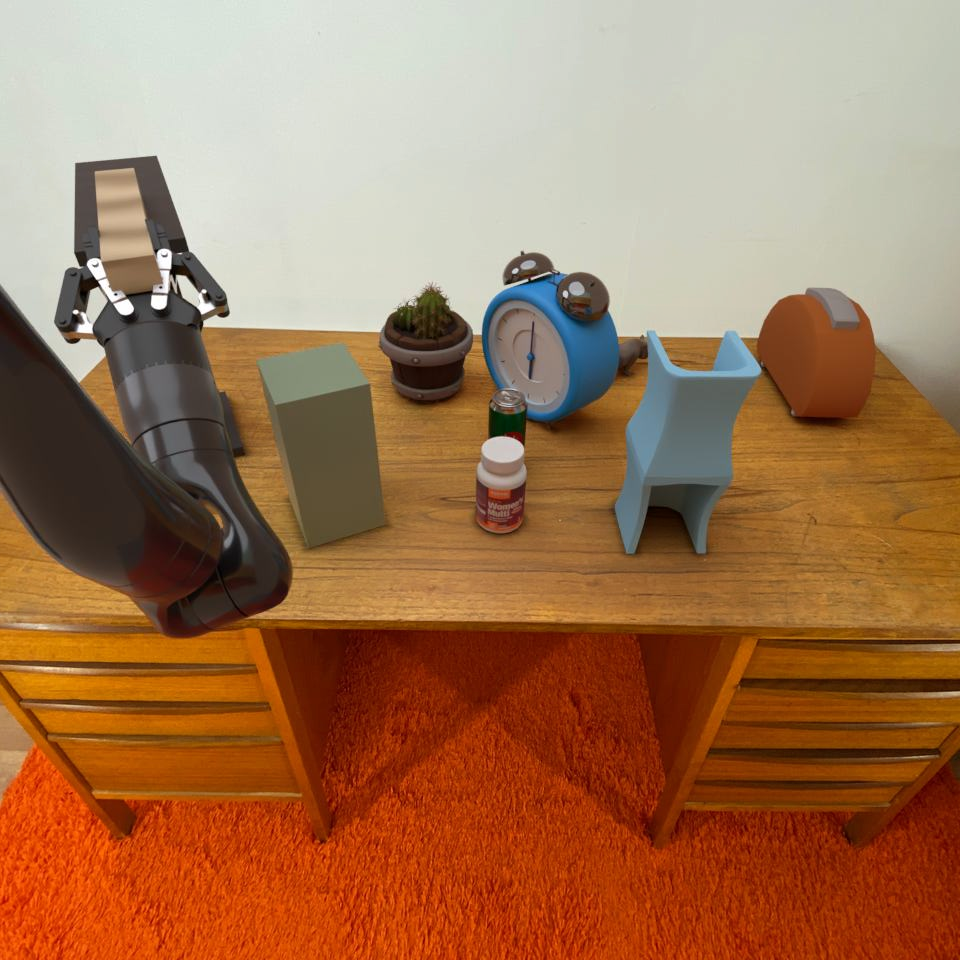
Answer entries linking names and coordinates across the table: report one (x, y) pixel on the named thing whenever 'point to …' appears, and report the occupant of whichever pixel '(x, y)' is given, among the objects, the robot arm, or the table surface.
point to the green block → (325, 440)
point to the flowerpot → (426, 348)
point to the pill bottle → (501, 485)
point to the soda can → (508, 415)
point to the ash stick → (125, 233)
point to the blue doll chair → (683, 438)
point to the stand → (156, 208)
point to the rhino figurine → (632, 353)
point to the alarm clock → (551, 338)
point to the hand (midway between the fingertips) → (123, 229)
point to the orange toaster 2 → (819, 353)
